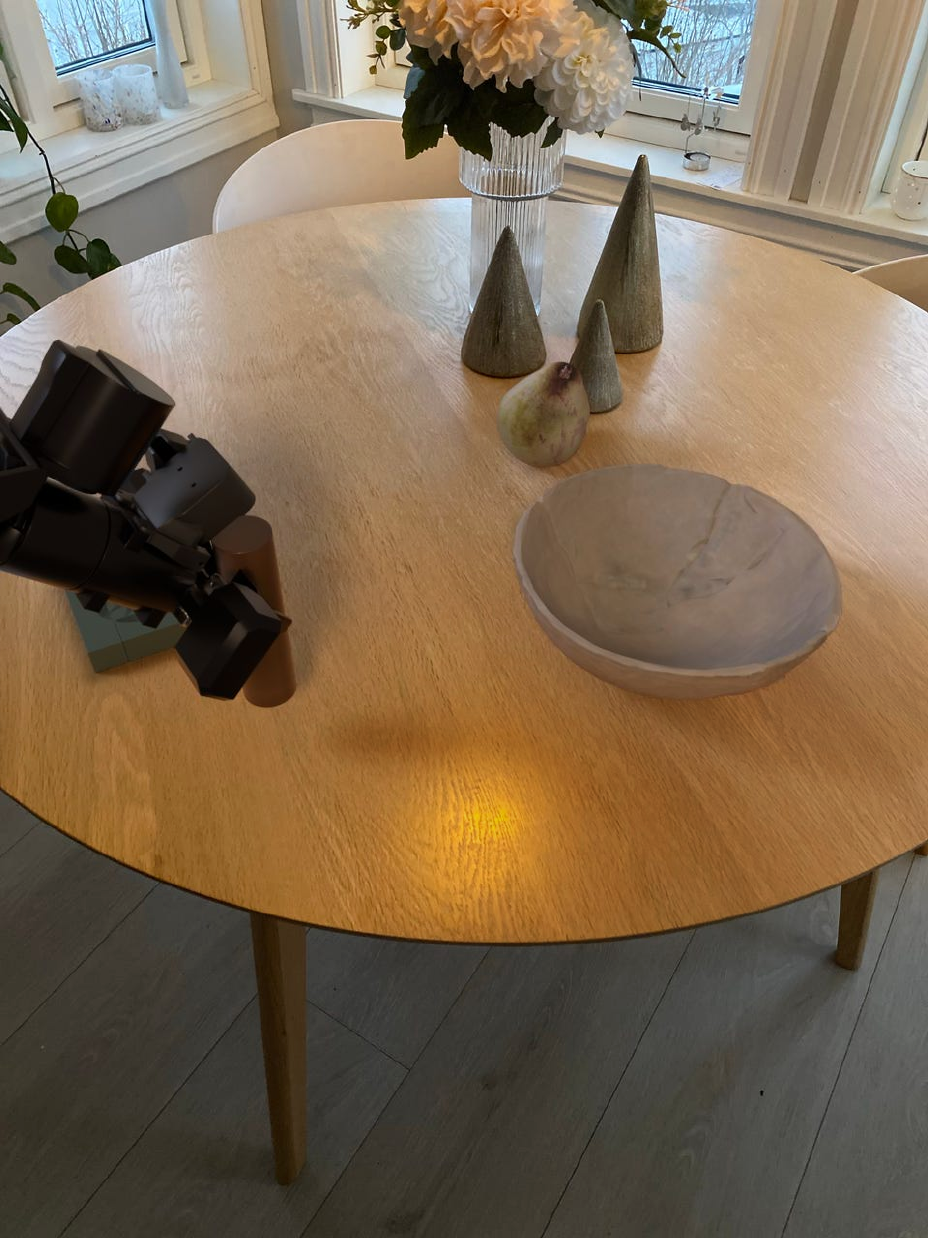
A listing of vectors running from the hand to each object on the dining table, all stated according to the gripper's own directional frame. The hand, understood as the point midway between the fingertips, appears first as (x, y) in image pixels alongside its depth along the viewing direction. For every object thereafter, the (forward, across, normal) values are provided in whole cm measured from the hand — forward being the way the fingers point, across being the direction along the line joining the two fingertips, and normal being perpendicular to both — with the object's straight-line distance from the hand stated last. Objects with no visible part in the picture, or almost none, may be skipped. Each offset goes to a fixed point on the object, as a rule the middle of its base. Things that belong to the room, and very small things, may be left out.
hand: (273, 608), depth 68 cm
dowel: (+4, 0, +6) cm, 8 cm away
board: (+6, +19, +12) cm, 24 cm away
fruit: (+37, +18, -19) cm, 45 cm away
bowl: (+30, -10, -13) cm, 34 cm away
